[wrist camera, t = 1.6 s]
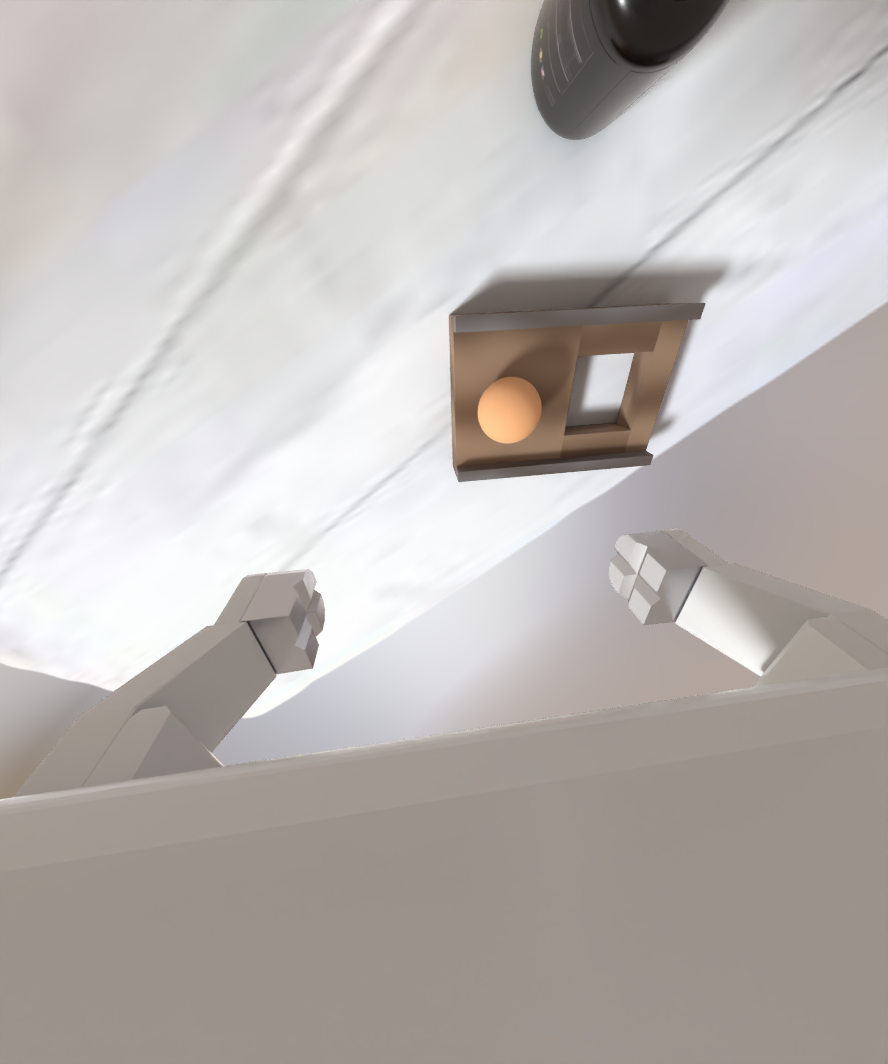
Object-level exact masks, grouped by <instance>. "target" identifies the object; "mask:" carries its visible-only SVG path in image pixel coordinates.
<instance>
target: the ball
mask: <svg viewBox="0 0 888 1064" xmlns="http://www.w3.org/2000/svg"><path fill="white" fill-rule="evenodd" d="M541 409H542V407H541V399H540V396H539V394H538V392H537V390H536V389H535V387H534V386H533V385H532V384H531V383H529V382H528V381H526V380H524V379H522V378H519V377H505V378H501V379H499V380H497V381H495V382H493V383H492V384H491V385H490V386H489V387H488V388H487V389H486V390H485V391H484V393H483V395H482V396H481V399H480V401H479V405H478V420H479V423H480V426H481V428H482V430H483V431H484V432H485V434H486V435H487V436H488V437H490V438H491V439H493V440H494V441H497V442H500V443H515V442H518V441H521V440H523V439H525V438H526V437H527V436H529V435H530V434H531V433H532V432H533V431H534V429H535V428H536V426H537V424H538V422H539V420H540V416H541Z"/></svg>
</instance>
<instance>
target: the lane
mask: <svg viewBox="0 0 888 1064" xmlns="http://www.w3.org/2000/svg"><path fill="white" fill-rule="evenodd" d="M704 306H705V303H674V304H653V305H634V306H615V307H596V308H577V309H557V310H538V311H519V312H500V313H481V314H462V315H449V335H450V372H451V410H452V447H453V468H454V471H455V474H456V476H457V479H458V482H465V481H476V480H487V479H498V478H510V477H521V476H532V475H543V474H555V473H566V472H577V471H588V470H599V469H611V468H622V467H633V466H644V465H650V463H651V461H652V458H653V455H652V454H650V453H649V452H647V451H646V448H647V445H648V442H649V439H650V436H651V433H652V430H653V427H654V424H655V421H656V418H657V415H658V411H659V408H660V405H661V402H662V399H663V396H664V393H665V390H666V387H667V384H668V381H669V378H670V375H671V372H672V369H673V365H674V362H675V359H676V356H677V353H678V350H679V347H680V344H681V341H682V338H683V335H684V332H685V329H686V326H687V323H688V320H691V319H700V318H701V315H702V312H703V309H704ZM621 353H635V354H634V357H633V361H632V365H631V369H630V373H629V377H628V381H627V384H626V388H625V392H624V396H623V400H622V404H621V408H620V411H619V415H618V419H617V423H607V424H594V425H581V426H569V427H565V426H566V420H567V414H568V409H569V403H570V397H571V391H572V385H573V380H574V374H575V368H576V362H577V356H589V355H605V354H621ZM505 377H519V378H522V379H524V380H526V381H528V382H529V383H531V384H532V385H533V386H534V387H535V389H536V390H537V392H538V394H539V396H540V399H541V407H542V409H541V416H540V420H539V422H538V424H537V426H536V428H535V429H534V431H533V432H532V433H531V434H530V435H529V436H527V437H526V438H525V439H523V440H521V441H518V442H515V443H500V442H497V441H494V440H493V439H491V438H490V437H488V436H487V435H486V434H485V432H484V431H483V430H482V428H481V426H480V423H479V420H478V405H479V401H480V399H481V396H482V395H483V393H484V391H485V390H486V389H487V388H488V387H489V386H490V385H491V384H492V383H493V382H495V381H497V380H499V379H501V378H505Z"/></svg>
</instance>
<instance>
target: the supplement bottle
mask: <svg viewBox="0 0 888 1064" xmlns="http://www.w3.org/2000/svg"><path fill="white" fill-rule="evenodd" d="M728 2H729V0H544V2H543V5H542V8H541V11H540V14H539V17H538V21H537V24H536V28H535V33H534V38H533V45H532V56H531V76H532V86H533V92H534V96H535V100H536V104H537V106H538V109H539V111H540V114H541V116H542V117H543V119H544V121H545V122H546V124H547V125H548V126H549V127H550V129H551V130H552V131H554V132H555V133H556V134H558V135H559V136H561V137H563V138H566V139H571V140H580V139H585V138H588V137H591V136H593V135H595V134H596V133H598V132H599V131H601V130H602V129H604V128H605V127H606V126H607V125H608V124H610V123H611V122H612V121H613V120H614V119H616V118H617V117H618V116H619V115H620V114H621V113H622V112H623V111H624V110H625V109H627V108H628V107H629V106H630V105H631V104H632V103H633V102H634V101H635V100H637V99H638V98H639V97H640V96H641V95H642V94H643V93H644V92H645V91H646V90H648V89H649V88H650V87H651V86H652V85H653V84H654V83H655V82H656V81H658V80H659V79H660V78H661V77H662V76H663V75H664V74H665V73H666V72H667V71H669V70H670V69H671V68H672V67H673V66H674V65H675V64H676V63H677V62H679V61H680V60H681V59H682V58H683V57H684V56H685V55H686V54H687V53H688V52H689V51H690V50H691V49H692V48H693V47H694V46H695V45H696V44H697V43H698V42H699V41H700V40H701V39H702V38H703V37H704V36H705V34H706V33H707V32H708V31H709V30H710V28H711V27H712V26H713V24H714V23H715V22H716V20H717V19H718V17H719V16H720V14H721V13H722V11H723V10H724V8H725V6H726V5H727V3H728Z"/></svg>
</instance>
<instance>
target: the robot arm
mask: <svg viewBox="0 0 888 1064" xmlns="http://www.w3.org/2000/svg"><path fill="white" fill-rule="evenodd" d="M615 549H616V551H617V553H618V554H617V555H616V556H615V557H614V559H612V560H611V562H610V566H609V578H610V582H611V584H612V586H613V588H614V589H615V590H616V592H617V593H618V594H619V595H621V596H623V597H625V598H627V599H628V607H629V608H630V609H631V610H632V612H633V613H634V614H635V615H636V617H637V618H638V619H639V620H640V622H641V623H642V624H643V625H649V624H659V623H668V622H676V624H677V625H679V626H680V627H682V628H683V629H685V630H687V631H688V632H690V633H691V634H693V635H695V636H696V637H698V638H700V639H701V640H703V641H704V642H706V643H708V644H709V645H711V646H712V647H714V648H716V649H717V650H719V651H721V652H722V653H724V654H725V655H727V656H729V657H730V658H732V659H733V660H735V661H737V662H738V663H740V664H741V665H743V666H745V667H747V668H748V669H750V670H751V671H753V672H754V673H756V674H758V675H759V676H761V677H760V678H759V680H758V681H757V682H756V683H755V685H754V686H753V687H751V688H745V689H737V690H731V691H724V692H717V693H711V694H705V695H697V696H690V697H684V698H677V699H670V700H664V701H657V702H650V703H644V704H638V705H631V706H623V707H617V708H610V709H603V710H597V711H590V712H583V713H577V714H570V715H563V716H556V717H550V718H543V719H537V720H530V721H523V722H517V723H510V724H503V725H497V726H490V727H484V728H477V729H470V730H463V731H458V732H450V733H443V734H437V735H430V736H423V737H417V738H410V739H403V740H396V741H390V742H383V743H377V744H370V745H363V746H356V747H350V748H343V749H336V750H330V751H323V752H316V753H310V754H302V755H296V756H290V757H282V758H276V759H269V760H263V761H255V762H249V763H242V764H235V765H229V766H224V765H223V764H222V763H221V762H220V761H219V760H218V759H217V758H216V757H215V756H214V755H213V754H212V752H213V750H214V749H215V748H216V747H217V746H218V744H219V743H220V742H221V741H222V740H223V738H224V737H225V736H226V735H227V734H228V733H229V732H230V730H231V729H232V728H233V727H234V725H235V724H236V723H237V722H238V721H239V720H240V719H241V717H242V716H243V715H244V714H245V713H246V712H247V710H248V709H249V708H250V707H251V706H252V704H253V703H254V702H255V701H256V700H257V699H258V697H259V696H260V695H261V694H262V693H263V692H264V690H265V689H266V688H267V687H268V686H269V684H270V683H271V682H272V681H273V680H274V679H275V677H276V674H281V673H287V672H293V671H300V670H306V669H312V668H313V666H314V662H315V658H316V654H317V650H318V646H319V644H318V642H317V639H316V636H317V635H318V634H319V633H320V632H321V631H322V630H323V625H324V620H325V609H324V603H323V599H322V596H321V594H320V593H318V592H317V591H315V590H314V588H315V585H316V579H315V577H314V574H313V572H312V571H311V570H309V569H307V570H296V571H285V572H274V573H268V574H267V573H264V574H255V575H248V576H246V577H244V578H243V579H242V580H241V582H240V584H239V585H238V587H237V588H236V590H235V592H234V593H233V595H232V597H231V598H230V600H229V602H228V603H227V605H226V606H225V608H224V610H223V611H222V613H221V615H220V616H219V618H218V619H217V621H216V623H215V624H214V625H213V626H207V627H205V628H204V629H202V630H201V631H199V632H198V633H197V634H195V635H194V636H192V637H191V638H189V639H188V640H187V641H185V642H184V643H182V644H181V645H179V646H178V647H177V648H175V649H174V650H172V651H171V652H169V653H168V654H167V655H165V656H164V657H162V658H161V659H159V660H158V661H157V662H155V663H154V664H152V665H151V666H149V667H148V668H147V669H145V670H144V671H142V672H141V673H139V674H138V675H137V676H135V677H134V678H132V679H131V680H130V681H128V682H127V683H125V684H124V685H122V686H121V687H120V688H118V689H117V690H115V691H114V692H112V693H111V694H110V695H109V696H107V697H105V698H104V699H102V700H101V701H100V702H98V703H97V704H95V705H94V706H93V707H91V708H90V709H88V710H87V711H85V712H84V713H82V714H81V715H80V716H79V717H78V718H77V719H76V720H75V722H74V723H73V724H72V726H71V727H70V728H69V729H68V730H67V732H66V733H65V734H64V735H63V737H62V738H61V739H60V740H59V741H58V743H57V744H56V745H55V746H54V748H53V749H52V750H51V751H50V753H49V754H48V755H47V756H46V757H45V759H44V760H43V761H42V762H41V764H40V765H39V766H38V768H37V769H36V770H35V771H34V772H33V773H32V775H31V776H30V777H29V778H28V780H27V781H26V782H25V783H24V785H23V786H22V787H21V788H20V790H19V791H18V792H17V793H16V794H15V796H14V797H13V798H7V799H0V1064H888V619H886V618H884V617H883V616H881V615H880V614H878V613H876V612H875V611H873V610H871V609H868V608H865V607H862V606H859V605H856V604H854V603H851V602H848V601H845V600H842V599H839V598H836V597H833V596H830V595H827V594H824V593H821V592H818V591H815V590H812V589H810V588H807V587H804V586H801V585H798V584H795V583H792V582H789V581H786V580H783V579H780V578H777V577H774V576H771V575H769V574H766V573H763V572H760V571H757V570H754V569H751V568H748V567H745V566H742V565H739V564H736V563H732V564H729V563H728V562H726V561H725V560H723V559H722V558H721V557H719V556H718V555H717V554H715V553H714V552H713V551H711V550H710V549H708V548H707V547H706V546H704V545H703V544H702V543H700V542H699V541H697V540H696V539H695V538H693V537H692V536H691V535H689V534H688V533H686V532H685V531H684V530H681V529H678V528H672V529H664V530H658V531H655V532H645V533H636V534H628V535H621V536H620V537H619V539H618V540H617V542H616V545H615Z"/></svg>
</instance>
